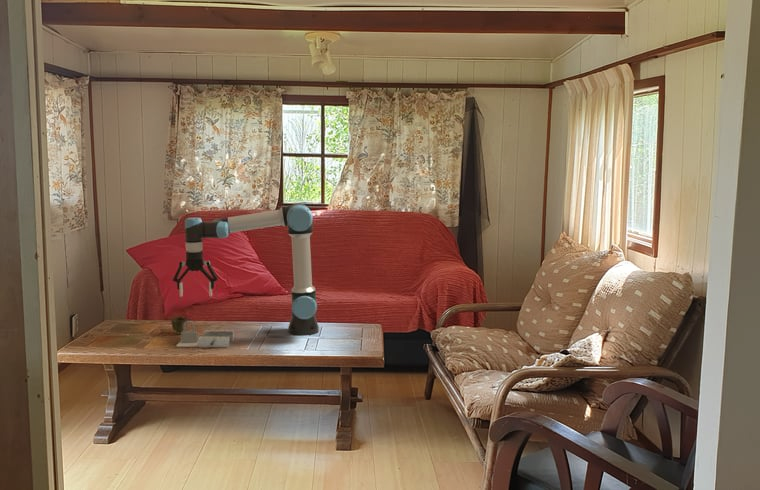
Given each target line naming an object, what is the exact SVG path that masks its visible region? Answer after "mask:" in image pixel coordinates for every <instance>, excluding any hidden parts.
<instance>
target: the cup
mask: <svg viewBox="0 0 760 490" xmlns="http://www.w3.org/2000/svg"><path fill="white" fill-rule="evenodd" d="M186 321H188V317H186V316H185V317H183V316H180V315H179V316H176V317H175V316H174V317H172V318H171V324H172V325H171V326H172V329H173V330H174V332H175V335H178V336H179V335H180V336H181V332H182V331H183V325H184V323H185V322H186ZM186 326H187V324H186Z"/></svg>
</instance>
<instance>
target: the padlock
mask: <svg viewBox="0 0 760 490" xmlns="http://www.w3.org/2000/svg"><path fill="white" fill-rule="evenodd" d="M186 324H190V325H192V326H191V327H192V330H187V325H186ZM198 335H199V334H198V330H196V325H195V322H193V321H191V320H187V321H186V322H185V323H184V325H183V331H182V332H181V335H180V341H181V342H182V343H183V342H184V343H194V342H195V343H196V342H197V341H198V337H199V336H198Z"/></svg>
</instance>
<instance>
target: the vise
mask: <svg viewBox="0 0 760 490" xmlns="http://www.w3.org/2000/svg"><path fill="white" fill-rule="evenodd" d="M202 334H203V335H202V336H201V335H200V336H198V345H197V348H208V347H229V348H230V346H231V345H230V343H231V342H230V340H233V341H234V340H235V330H234V329H204V330H203V331H202Z"/></svg>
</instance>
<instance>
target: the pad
mask: <svg viewBox="0 0 760 490" xmlns="http://www.w3.org/2000/svg"><path fill="white" fill-rule="evenodd" d="M175 347H177V348H185V347H186V348H188V347H189V348H196V347H198V341H197V342H196V343H195V342H194V343H184V342H183V343H182V342H181V340H180V341H179V342H178V343H177V344H176V346H175Z"/></svg>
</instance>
